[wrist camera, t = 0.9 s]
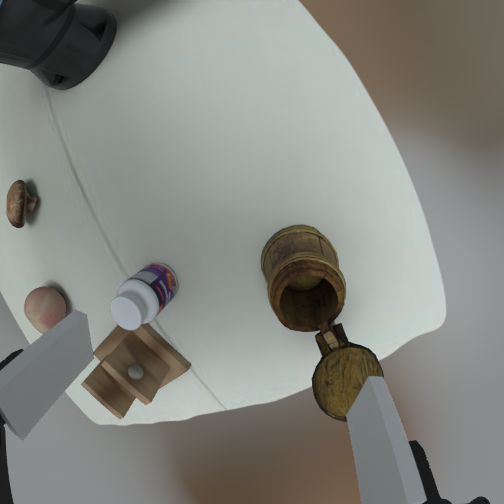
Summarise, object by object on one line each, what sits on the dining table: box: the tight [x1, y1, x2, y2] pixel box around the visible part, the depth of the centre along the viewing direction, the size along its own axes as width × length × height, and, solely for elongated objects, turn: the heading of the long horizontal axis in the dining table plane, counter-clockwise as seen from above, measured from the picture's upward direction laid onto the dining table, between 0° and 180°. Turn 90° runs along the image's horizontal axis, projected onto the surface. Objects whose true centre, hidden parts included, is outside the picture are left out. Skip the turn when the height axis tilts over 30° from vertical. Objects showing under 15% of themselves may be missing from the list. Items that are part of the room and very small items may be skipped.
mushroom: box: [7, 180, 38, 228], centre depth 32 cm, size 8×8×6 cm
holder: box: [81, 323, 191, 419], centre depth 35 cm, size 12×14×10 cm
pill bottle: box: [110, 263, 178, 330], centre depth 30 cm, size 5×5×10 cm
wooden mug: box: [261, 225, 384, 422], centre depth 24 cm, size 9×14×18 cm, turn 32°
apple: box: [24, 286, 66, 334], centre depth 35 cm, size 8×8×8 cm
